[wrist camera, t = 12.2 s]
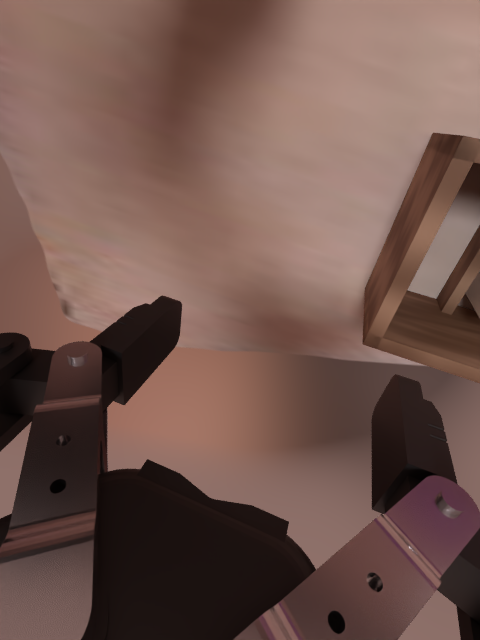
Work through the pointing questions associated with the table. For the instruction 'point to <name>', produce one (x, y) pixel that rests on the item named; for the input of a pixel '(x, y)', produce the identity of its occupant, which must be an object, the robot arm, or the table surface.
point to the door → (475, 294)
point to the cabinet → (404, 260)
